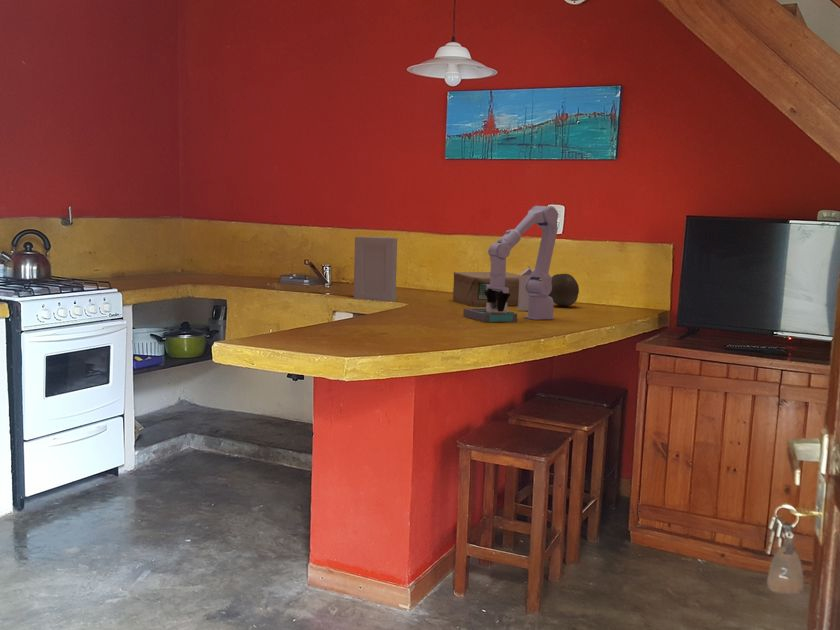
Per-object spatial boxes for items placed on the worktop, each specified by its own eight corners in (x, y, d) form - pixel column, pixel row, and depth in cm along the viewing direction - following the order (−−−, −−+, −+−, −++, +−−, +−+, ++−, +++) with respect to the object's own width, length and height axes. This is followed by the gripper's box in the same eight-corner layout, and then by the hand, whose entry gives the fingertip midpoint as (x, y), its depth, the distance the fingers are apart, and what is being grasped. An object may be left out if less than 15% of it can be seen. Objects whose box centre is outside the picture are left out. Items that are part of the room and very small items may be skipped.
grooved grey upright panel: (402, 298, 380) (404, 238, 376) (392, 301, 366) (394, 238, 362) (364, 295, 385) (366, 236, 382) (352, 298, 371) (354, 236, 368)
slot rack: (494, 315, 326) (495, 307, 326) (517, 321, 310) (517, 313, 309) (463, 316, 321) (463, 307, 321) (484, 322, 304) (484, 313, 304)
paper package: (474, 307, 353) (476, 275, 352) (449, 301, 377) (451, 270, 375) (528, 306, 364) (530, 275, 362) (501, 300, 387) (502, 271, 386)
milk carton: (519, 311, 345) (521, 266, 342) (517, 309, 352) (519, 265, 349) (536, 311, 345) (538, 266, 342) (534, 309, 352) (536, 265, 349)
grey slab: (504, 320, 313) (505, 302, 313) (506, 320, 312) (507, 302, 311) (485, 320, 310) (486, 302, 309) (487, 321, 309) (488, 303, 308)
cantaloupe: (562, 304, 376) (564, 272, 374) (584, 308, 365) (586, 274, 363) (539, 305, 369) (541, 272, 367) (560, 309, 357) (562, 275, 355)
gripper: (479, 273, 314) (478, 308, 315) (497, 276, 301) (495, 312, 302) (495, 273, 317) (494, 307, 318) (514, 276, 303) (512, 312, 305)
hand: (496, 310), depth 310 cm, fingers open, 6 cm apart
